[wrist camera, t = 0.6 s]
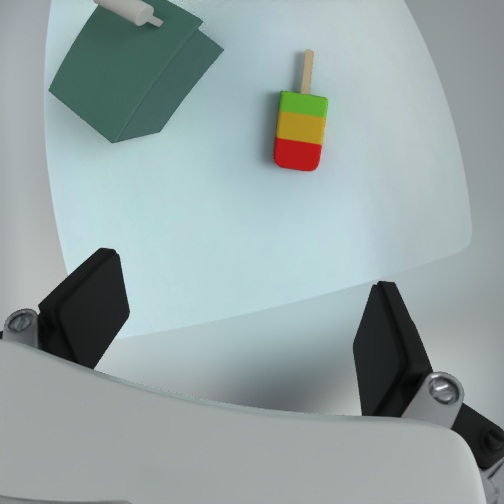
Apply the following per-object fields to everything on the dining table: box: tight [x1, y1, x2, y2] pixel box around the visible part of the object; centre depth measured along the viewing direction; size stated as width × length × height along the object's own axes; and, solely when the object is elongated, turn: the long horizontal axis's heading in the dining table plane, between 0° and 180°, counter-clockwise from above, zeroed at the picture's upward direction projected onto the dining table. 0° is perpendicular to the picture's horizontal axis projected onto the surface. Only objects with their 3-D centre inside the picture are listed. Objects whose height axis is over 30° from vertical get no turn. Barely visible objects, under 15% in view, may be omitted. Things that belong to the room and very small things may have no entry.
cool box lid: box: [49, 0, 203, 143], centre depth 20 cm, size 14×12×5 cm
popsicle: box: [274, 50, 328, 171], centre depth 32 cm, size 6×15×2 cm, turn 174°
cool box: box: [117, 29, 224, 142], centre depth 27 cm, size 14×12×11 cm
